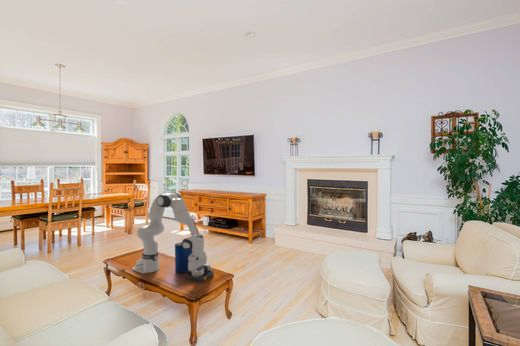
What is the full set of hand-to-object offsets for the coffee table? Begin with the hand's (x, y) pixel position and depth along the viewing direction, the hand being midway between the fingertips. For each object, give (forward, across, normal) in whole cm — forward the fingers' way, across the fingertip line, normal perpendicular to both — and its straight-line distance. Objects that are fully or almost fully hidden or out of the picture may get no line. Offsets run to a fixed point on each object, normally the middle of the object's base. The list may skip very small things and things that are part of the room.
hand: (197, 272), depth 206 cm
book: (+6, -11, -18) cm, 22 cm away
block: (+6, 0, 0) cm, 6 cm away
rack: (+6, -4, 0) cm, 7 cm away
